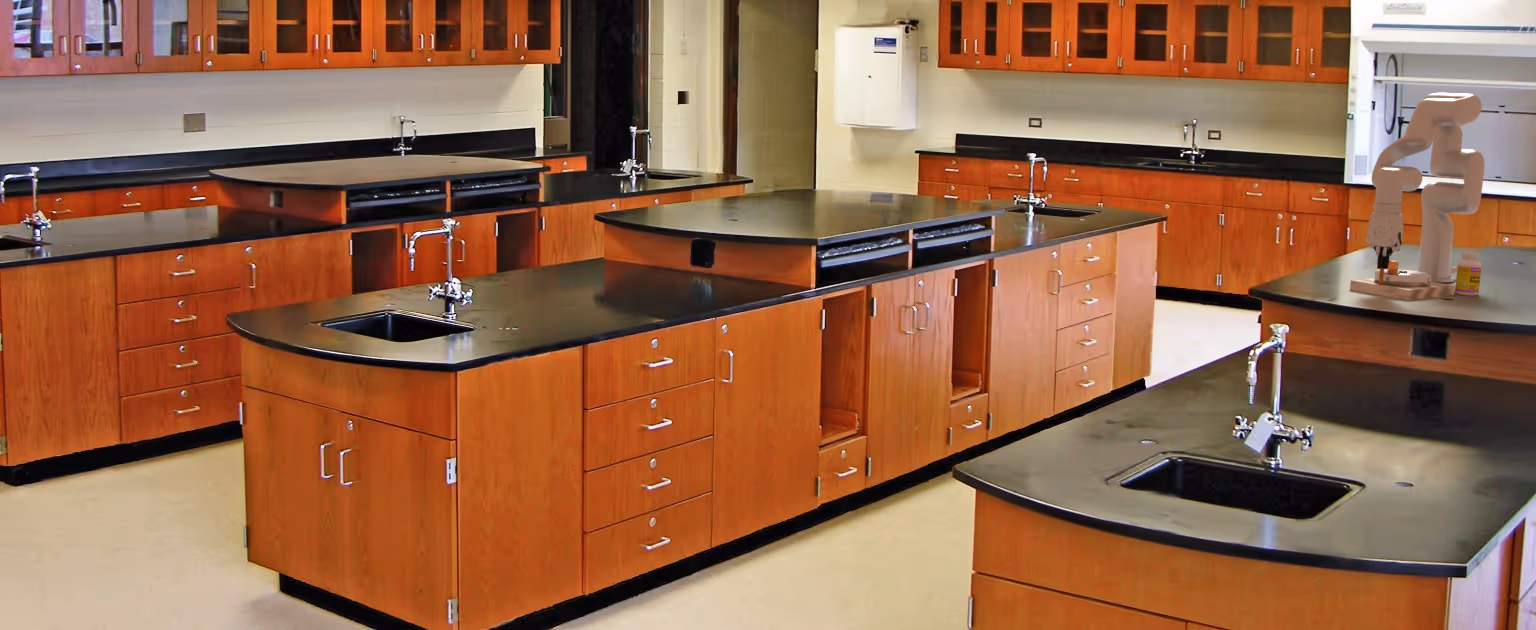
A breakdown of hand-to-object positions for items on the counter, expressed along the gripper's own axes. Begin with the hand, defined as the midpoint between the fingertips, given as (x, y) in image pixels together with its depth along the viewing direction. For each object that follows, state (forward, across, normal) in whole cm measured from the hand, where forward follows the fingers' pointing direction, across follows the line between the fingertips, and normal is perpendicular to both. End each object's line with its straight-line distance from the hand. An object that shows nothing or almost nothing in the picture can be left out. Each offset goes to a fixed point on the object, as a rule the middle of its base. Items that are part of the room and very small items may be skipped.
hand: (1382, 268), depth 474 cm
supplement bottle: (+8, +14, +22) cm, 27 cm away
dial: (+4, +3, +6) cm, 8 cm away
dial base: (+7, +3, +6) cm, 10 cm away
